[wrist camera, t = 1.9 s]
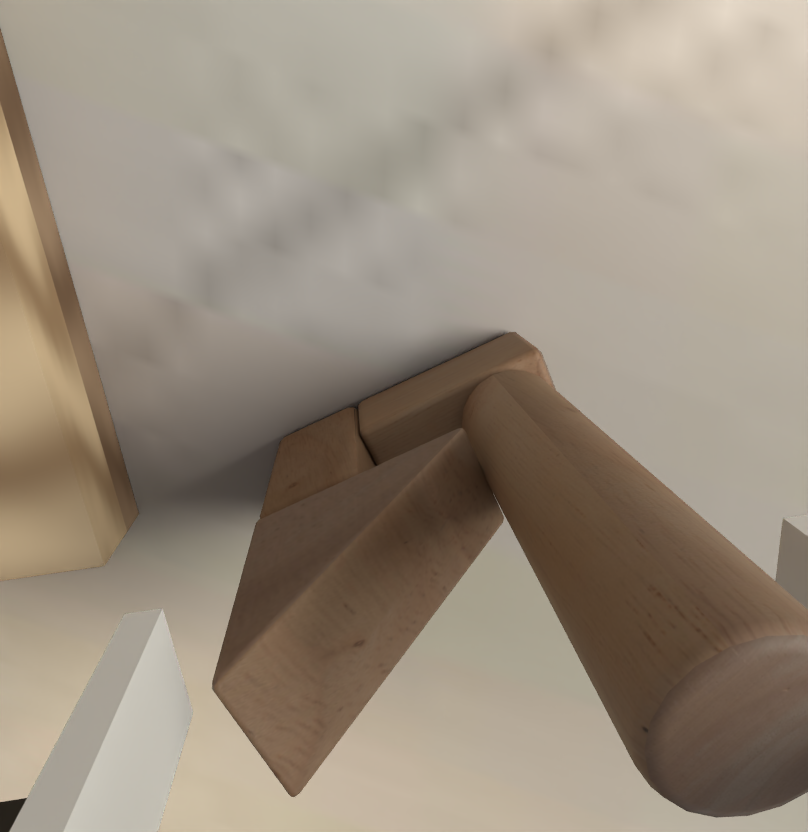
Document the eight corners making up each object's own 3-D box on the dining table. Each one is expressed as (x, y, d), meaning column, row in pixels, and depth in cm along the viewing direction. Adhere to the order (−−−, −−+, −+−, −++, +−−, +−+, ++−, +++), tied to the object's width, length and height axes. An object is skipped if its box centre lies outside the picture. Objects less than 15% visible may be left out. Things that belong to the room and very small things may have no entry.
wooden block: (277, 436, 26) (146, 890, 9) (513, 326, 25) (870, 581, 8) (317, 507, 27) (272, 1026, 10) (544, 404, 26) (910, 766, 9)
